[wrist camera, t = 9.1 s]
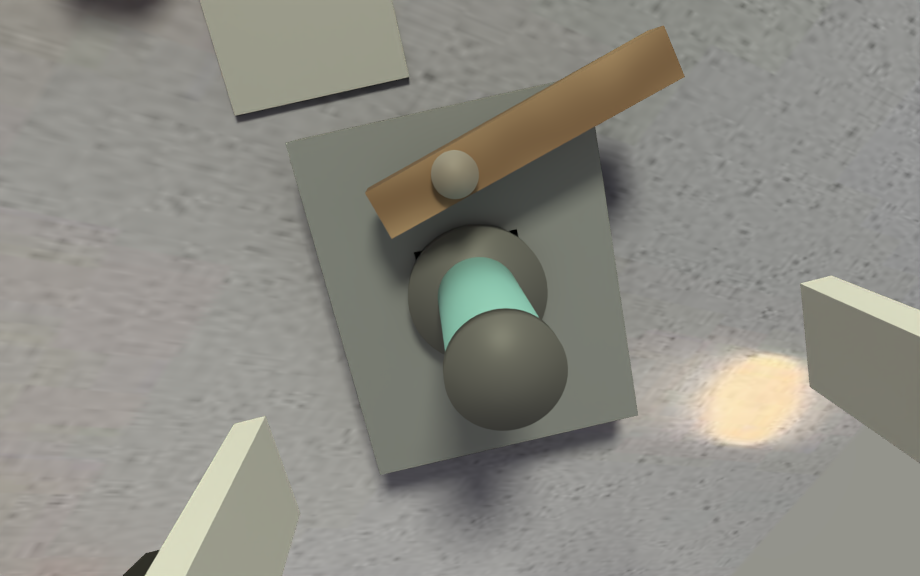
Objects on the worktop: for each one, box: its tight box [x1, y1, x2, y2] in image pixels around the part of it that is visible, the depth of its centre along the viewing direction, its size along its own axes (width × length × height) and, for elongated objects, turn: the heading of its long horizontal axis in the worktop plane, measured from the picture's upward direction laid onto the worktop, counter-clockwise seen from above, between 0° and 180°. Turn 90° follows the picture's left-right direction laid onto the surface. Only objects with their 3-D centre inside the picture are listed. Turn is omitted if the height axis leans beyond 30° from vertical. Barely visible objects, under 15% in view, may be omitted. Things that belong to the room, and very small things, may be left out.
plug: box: [408, 224, 568, 431], centre depth 32 cm, size 8×8×16 cm
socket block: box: [286, 82, 638, 475], centre depth 38 cm, size 16×20×4 cm
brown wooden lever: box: [365, 26, 685, 239], centre depth 31 cm, size 2×16×4 cm, turn 119°
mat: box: [200, 0, 409, 116], centre depth 35 cm, size 10×10×1 cm
